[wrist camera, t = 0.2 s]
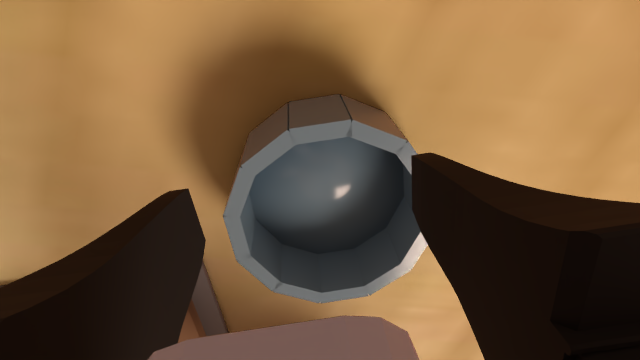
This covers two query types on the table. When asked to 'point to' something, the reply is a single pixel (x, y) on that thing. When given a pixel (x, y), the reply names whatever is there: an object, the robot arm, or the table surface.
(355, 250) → the bowl
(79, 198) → the table surface
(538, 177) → the table surface
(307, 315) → the table surface
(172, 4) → the table surface
